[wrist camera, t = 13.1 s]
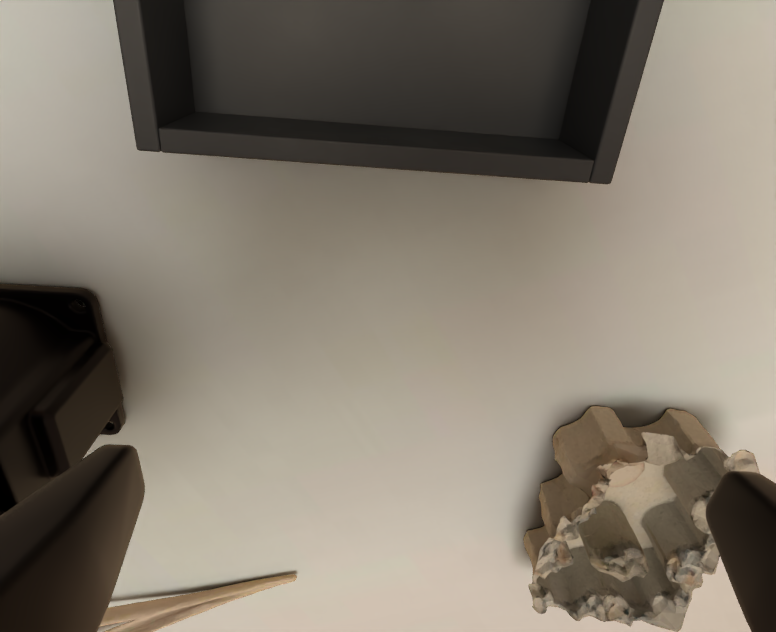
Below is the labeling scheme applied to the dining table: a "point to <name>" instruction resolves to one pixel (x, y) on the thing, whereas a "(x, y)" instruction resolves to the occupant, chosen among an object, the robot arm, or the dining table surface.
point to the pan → (390, 82)
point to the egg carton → (628, 518)
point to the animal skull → (182, 605)
